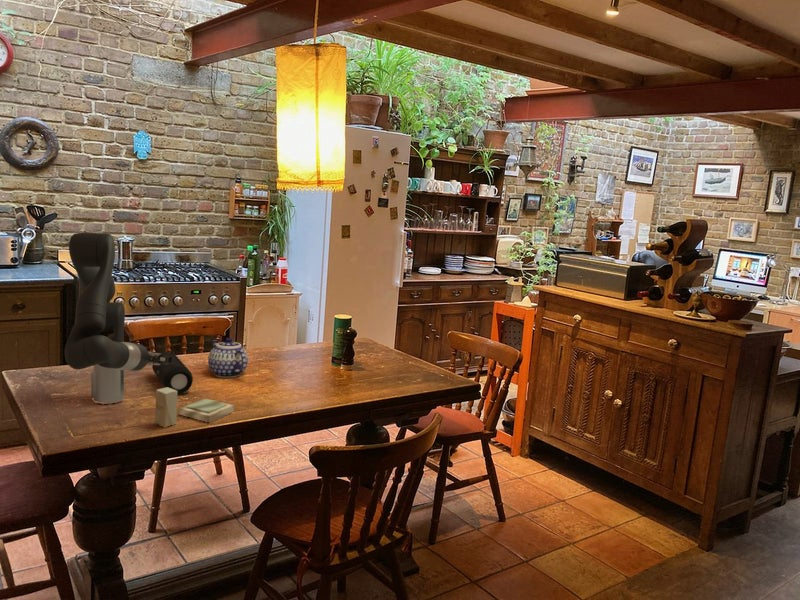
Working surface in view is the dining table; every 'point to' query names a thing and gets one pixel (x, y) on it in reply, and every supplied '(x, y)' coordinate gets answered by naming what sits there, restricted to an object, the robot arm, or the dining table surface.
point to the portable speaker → (174, 375)
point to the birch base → (206, 410)
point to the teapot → (227, 359)
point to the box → (166, 406)
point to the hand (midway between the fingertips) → (159, 359)
